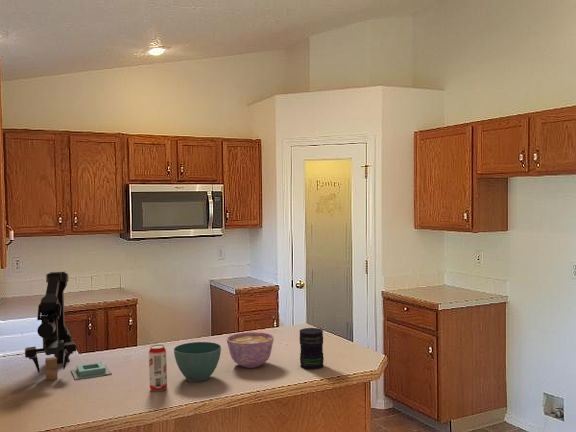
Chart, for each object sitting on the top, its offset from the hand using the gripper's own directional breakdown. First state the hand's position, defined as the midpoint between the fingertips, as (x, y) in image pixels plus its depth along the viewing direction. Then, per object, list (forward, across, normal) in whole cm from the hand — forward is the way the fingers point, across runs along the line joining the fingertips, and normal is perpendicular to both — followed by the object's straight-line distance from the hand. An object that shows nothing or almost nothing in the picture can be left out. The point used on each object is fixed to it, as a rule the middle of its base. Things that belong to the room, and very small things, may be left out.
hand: (51, 371), depth 230 cm
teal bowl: (+3, +51, -30) cm, 59 cm away
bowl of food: (+3, +76, -24) cm, 80 cm away
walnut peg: (+3, 0, 0) cm, 3 cm away
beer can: (+3, +34, -35) cm, 49 cm away
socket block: (+3, +15, 0) cm, 15 cm away
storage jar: (+3, +97, -39) cm, 105 cm away
